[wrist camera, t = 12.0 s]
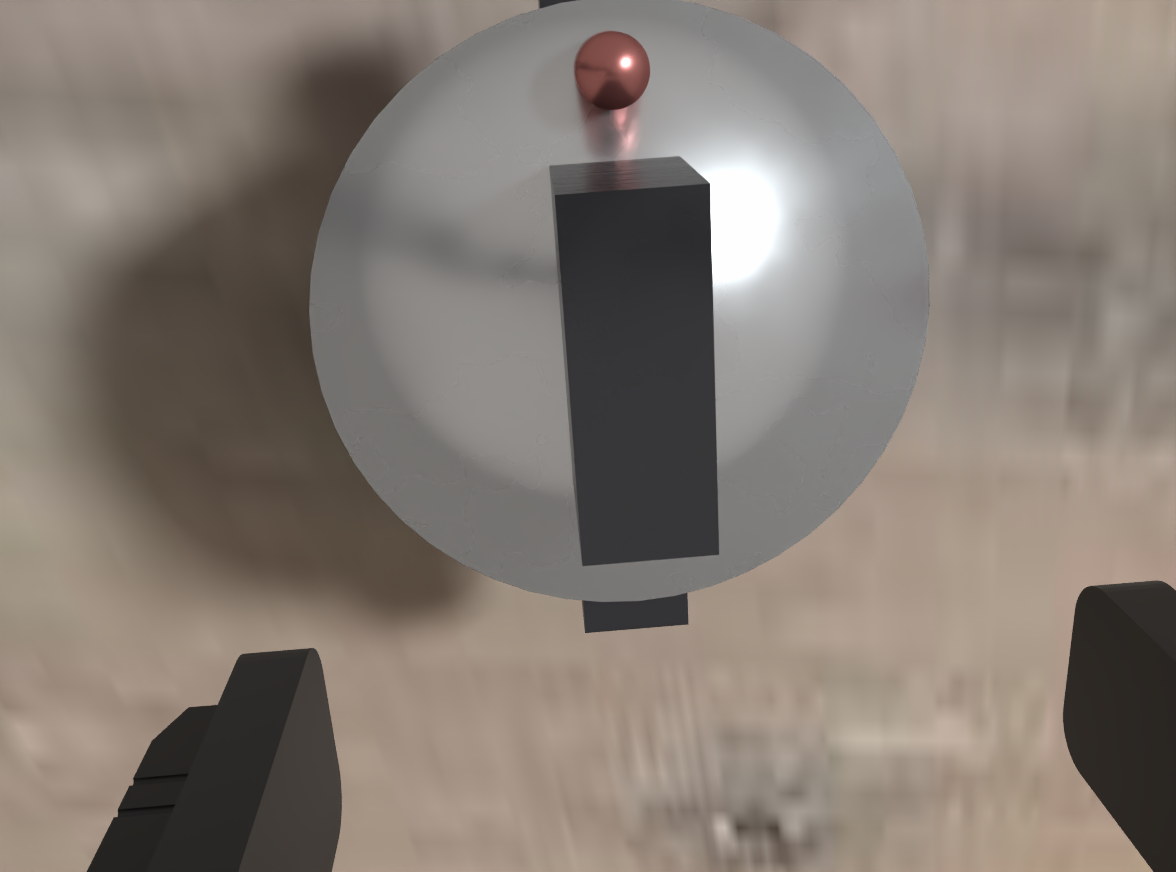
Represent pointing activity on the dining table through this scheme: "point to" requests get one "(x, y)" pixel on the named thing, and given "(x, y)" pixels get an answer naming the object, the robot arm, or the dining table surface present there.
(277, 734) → the robot arm
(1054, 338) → the dining table surface
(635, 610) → the cooker pot
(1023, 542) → the dining table surface
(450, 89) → the steel lid
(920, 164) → the dining table surface
